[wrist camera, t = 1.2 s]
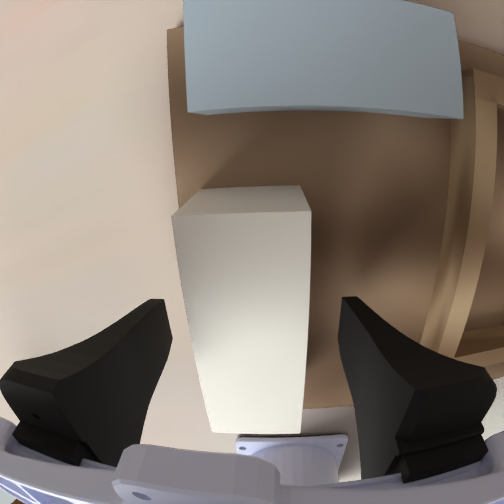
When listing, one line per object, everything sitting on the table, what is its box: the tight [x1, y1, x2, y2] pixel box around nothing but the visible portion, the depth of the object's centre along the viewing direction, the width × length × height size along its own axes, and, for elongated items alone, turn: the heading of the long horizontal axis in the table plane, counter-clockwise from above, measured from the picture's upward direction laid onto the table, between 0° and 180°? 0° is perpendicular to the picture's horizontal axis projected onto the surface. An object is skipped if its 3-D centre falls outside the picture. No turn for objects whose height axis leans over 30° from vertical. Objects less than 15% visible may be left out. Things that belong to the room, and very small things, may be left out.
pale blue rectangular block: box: [183, 0, 463, 119], centre depth 9 cm, size 4×9×3 cm, turn 93°
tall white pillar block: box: [171, 185, 311, 434], centre depth 13 cm, size 10×4×4 cm, turn 3°
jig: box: [167, 27, 504, 409], centre depth 13 cm, size 20×22×3 cm
